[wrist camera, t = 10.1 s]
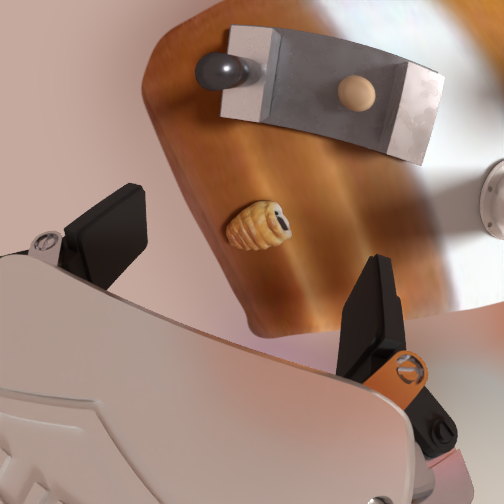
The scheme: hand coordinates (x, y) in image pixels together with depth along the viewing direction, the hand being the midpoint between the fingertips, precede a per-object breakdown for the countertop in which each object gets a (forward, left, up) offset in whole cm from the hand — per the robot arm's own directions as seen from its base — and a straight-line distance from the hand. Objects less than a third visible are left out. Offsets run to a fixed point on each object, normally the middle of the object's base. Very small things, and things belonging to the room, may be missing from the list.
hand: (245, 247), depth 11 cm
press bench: (-2, -6, -26) cm, 27 cm away
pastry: (+3, +15, -26) cm, 30 cm away
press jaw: (+6, -6, -24) cm, 26 cm away
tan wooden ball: (-5, -6, -22) cm, 24 cm away
